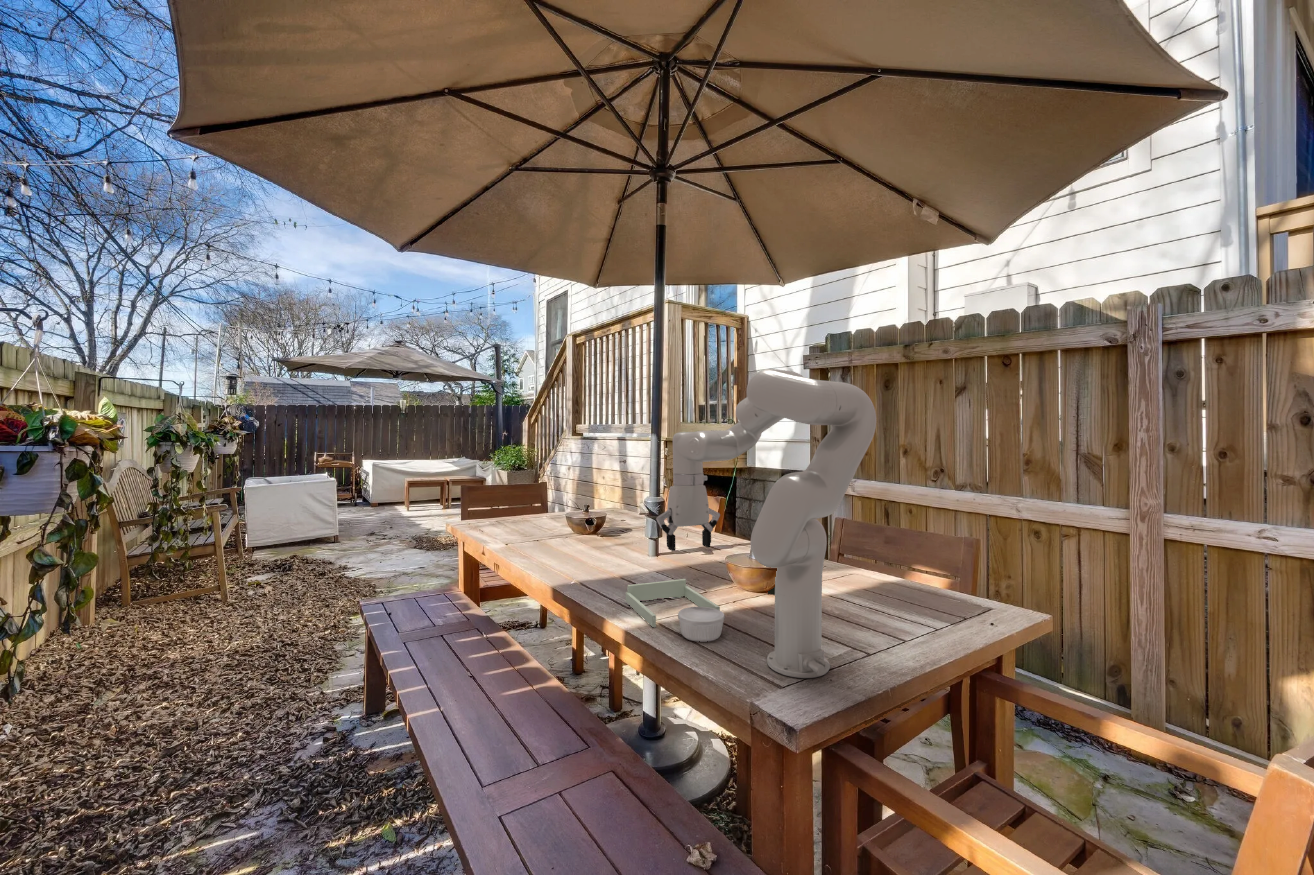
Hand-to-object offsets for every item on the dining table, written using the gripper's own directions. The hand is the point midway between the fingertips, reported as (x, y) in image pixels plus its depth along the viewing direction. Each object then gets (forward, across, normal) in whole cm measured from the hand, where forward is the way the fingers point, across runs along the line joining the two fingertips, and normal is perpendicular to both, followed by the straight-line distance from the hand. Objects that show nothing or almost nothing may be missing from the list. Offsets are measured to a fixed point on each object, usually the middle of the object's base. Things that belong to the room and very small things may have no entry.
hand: (689, 548), depth 139 cm
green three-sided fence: (+19, 0, -12) cm, 23 cm away
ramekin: (+20, 0, +7) cm, 21 cm away
